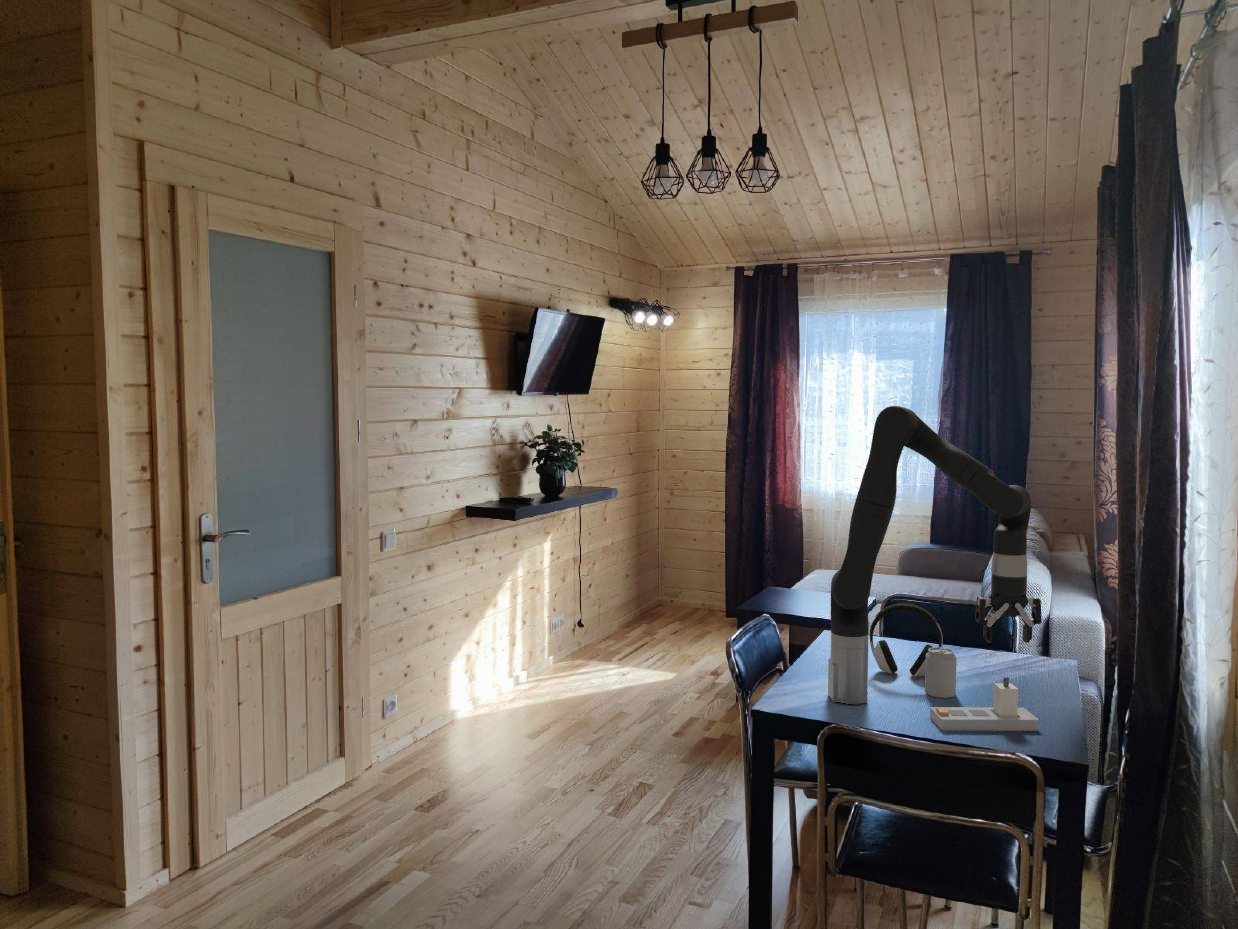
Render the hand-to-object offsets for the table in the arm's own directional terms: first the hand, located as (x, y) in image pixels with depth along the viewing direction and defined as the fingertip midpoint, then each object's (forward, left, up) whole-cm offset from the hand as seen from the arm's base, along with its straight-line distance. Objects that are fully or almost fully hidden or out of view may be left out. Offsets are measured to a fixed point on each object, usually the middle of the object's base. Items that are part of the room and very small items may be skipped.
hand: (1007, 641), depth 207 cm
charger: (0, 0, -19) cm, 19 cm away
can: (-8, +21, -20) cm, 30 cm away
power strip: (-5, 0, -20) cm, 21 cm away
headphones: (-12, +38, -20) cm, 45 cm away
